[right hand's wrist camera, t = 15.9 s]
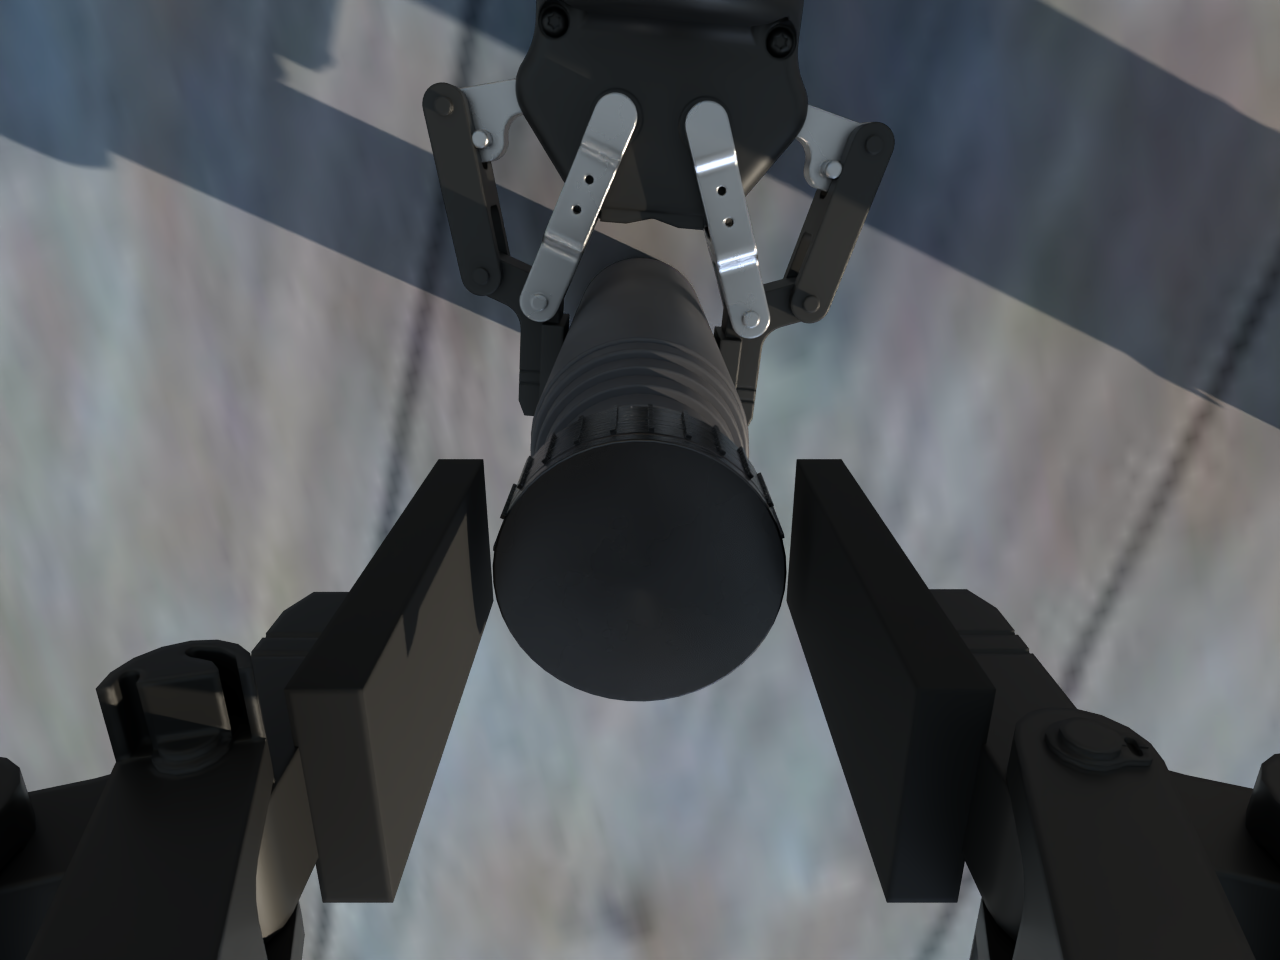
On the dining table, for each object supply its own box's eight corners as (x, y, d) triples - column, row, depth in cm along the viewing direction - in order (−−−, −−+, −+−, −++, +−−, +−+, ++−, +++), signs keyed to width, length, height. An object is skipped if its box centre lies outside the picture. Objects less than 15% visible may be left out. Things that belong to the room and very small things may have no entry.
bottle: (573, 373, 34) (478, 679, 14) (584, 250, 32) (492, 399, 12) (692, 386, 34) (766, 706, 14) (709, 265, 33) (820, 433, 12)
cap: (800, 608, 15) (820, 664, 13) (557, 671, 16) (547, 734, 14) (734, 367, 13) (748, 397, 12) (466, 447, 14) (442, 487, 12)
